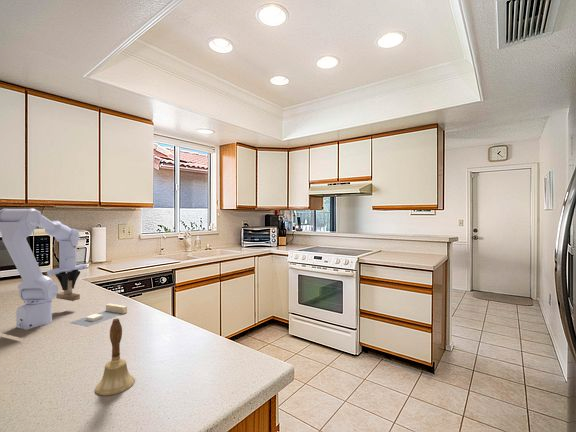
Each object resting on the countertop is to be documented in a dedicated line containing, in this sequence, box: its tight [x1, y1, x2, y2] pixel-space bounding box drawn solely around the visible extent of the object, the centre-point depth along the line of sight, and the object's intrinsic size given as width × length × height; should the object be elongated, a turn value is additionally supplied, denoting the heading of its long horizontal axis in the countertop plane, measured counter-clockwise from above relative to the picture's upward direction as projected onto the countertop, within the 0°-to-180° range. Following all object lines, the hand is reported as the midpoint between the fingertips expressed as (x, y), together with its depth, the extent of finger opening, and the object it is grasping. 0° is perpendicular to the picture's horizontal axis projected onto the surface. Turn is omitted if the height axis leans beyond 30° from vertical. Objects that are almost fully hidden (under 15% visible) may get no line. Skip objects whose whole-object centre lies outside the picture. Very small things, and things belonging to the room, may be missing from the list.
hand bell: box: [94, 318, 136, 396], centre depth 71 cm, size 8×8×16 cm
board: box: [69, 303, 128, 328], centre depth 114 cm, size 16×10×4 cm, turn 159°
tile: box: [85, 313, 103, 321], centre depth 112 cm, size 4×4×1 cm
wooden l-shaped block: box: [55, 280, 81, 302], centre depth 124 cm, size 3×10×8 cm, turn 70°
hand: (68, 289), depth 124 cm, fingers closed on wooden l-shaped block, 2 cm apart
